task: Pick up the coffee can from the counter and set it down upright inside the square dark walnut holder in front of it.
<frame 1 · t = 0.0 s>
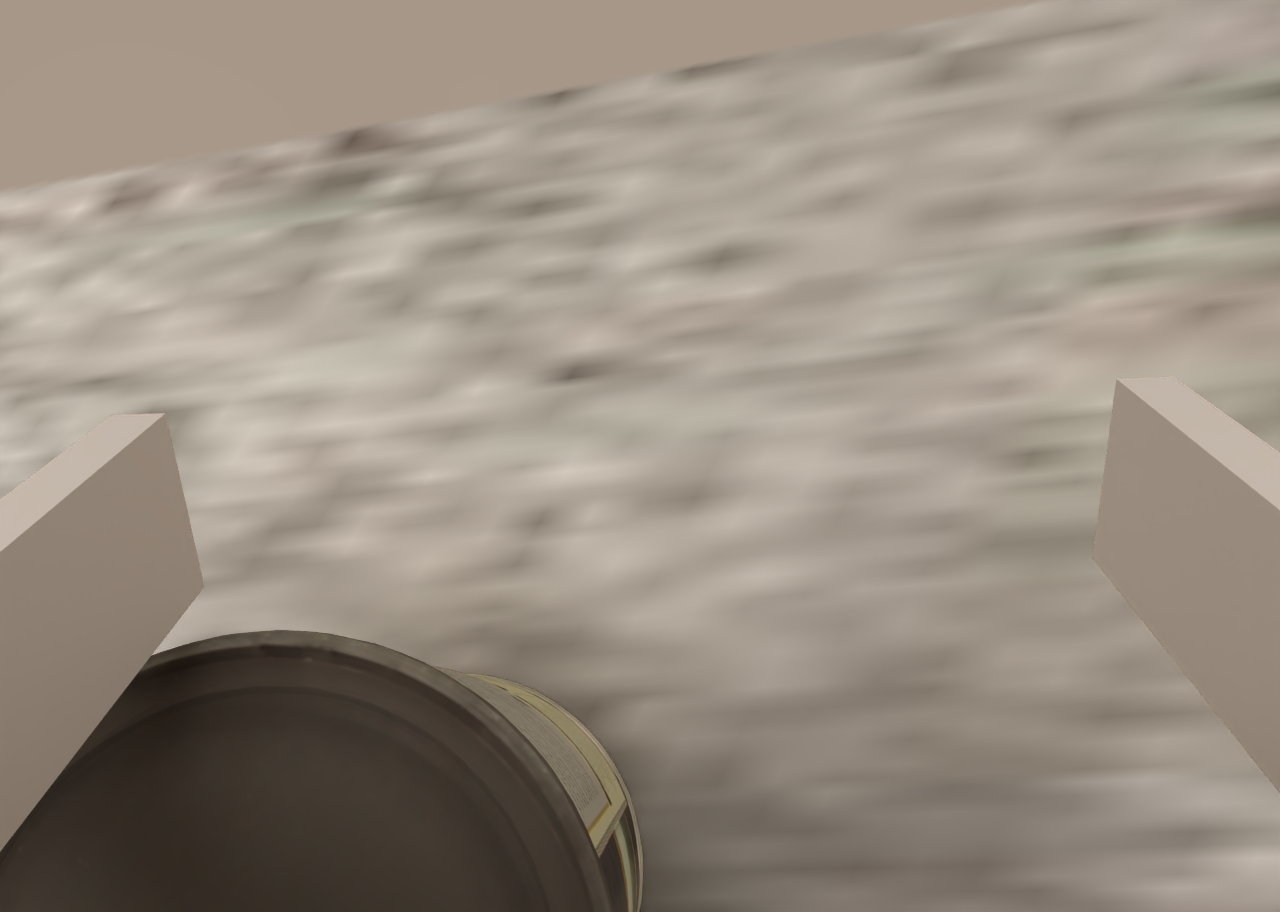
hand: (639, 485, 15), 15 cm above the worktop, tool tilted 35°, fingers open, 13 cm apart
coffee can: (454, 865, 29), on the worktop
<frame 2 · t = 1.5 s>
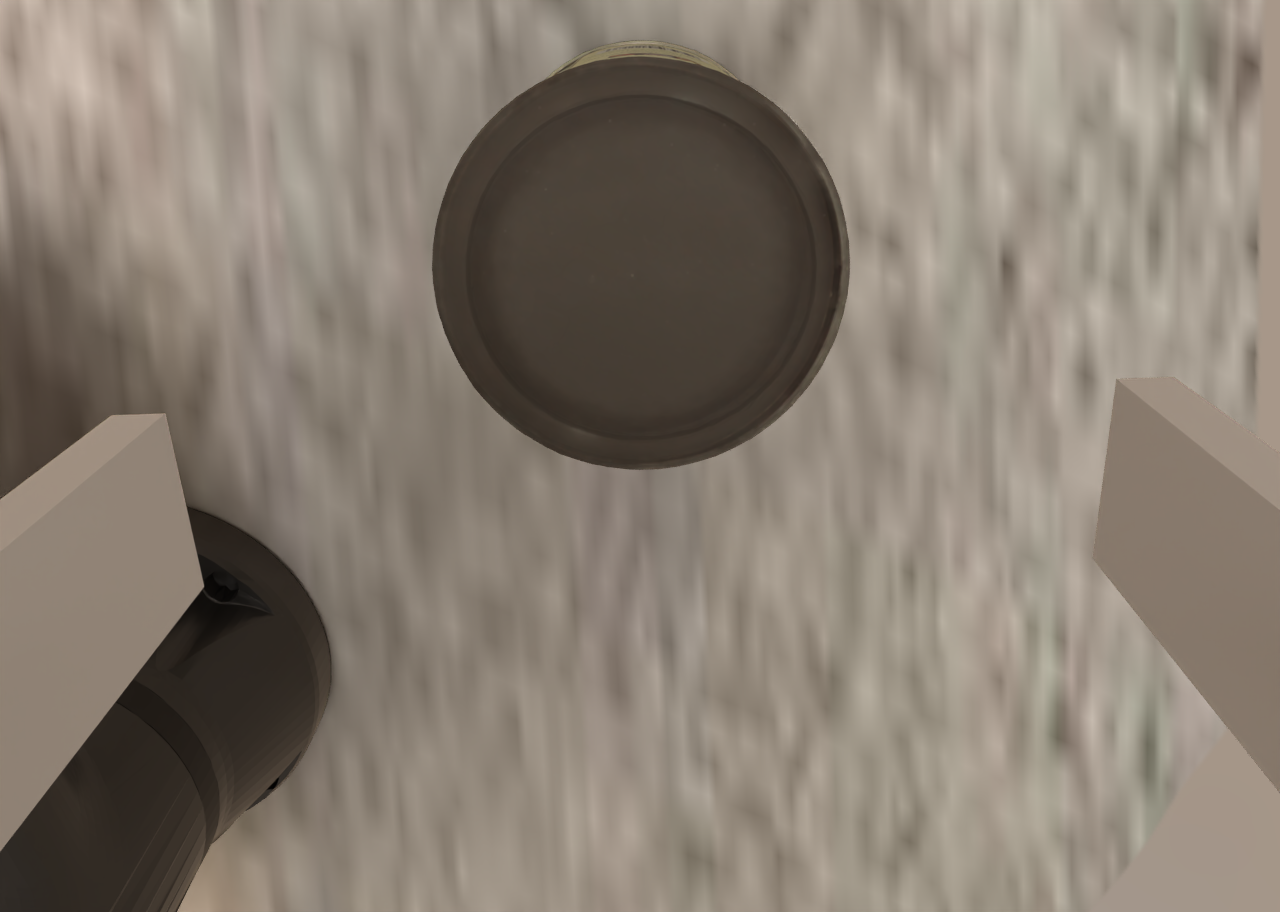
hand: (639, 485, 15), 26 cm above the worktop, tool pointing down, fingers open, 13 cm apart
coffee can: (643, 189, 40), on the worktop
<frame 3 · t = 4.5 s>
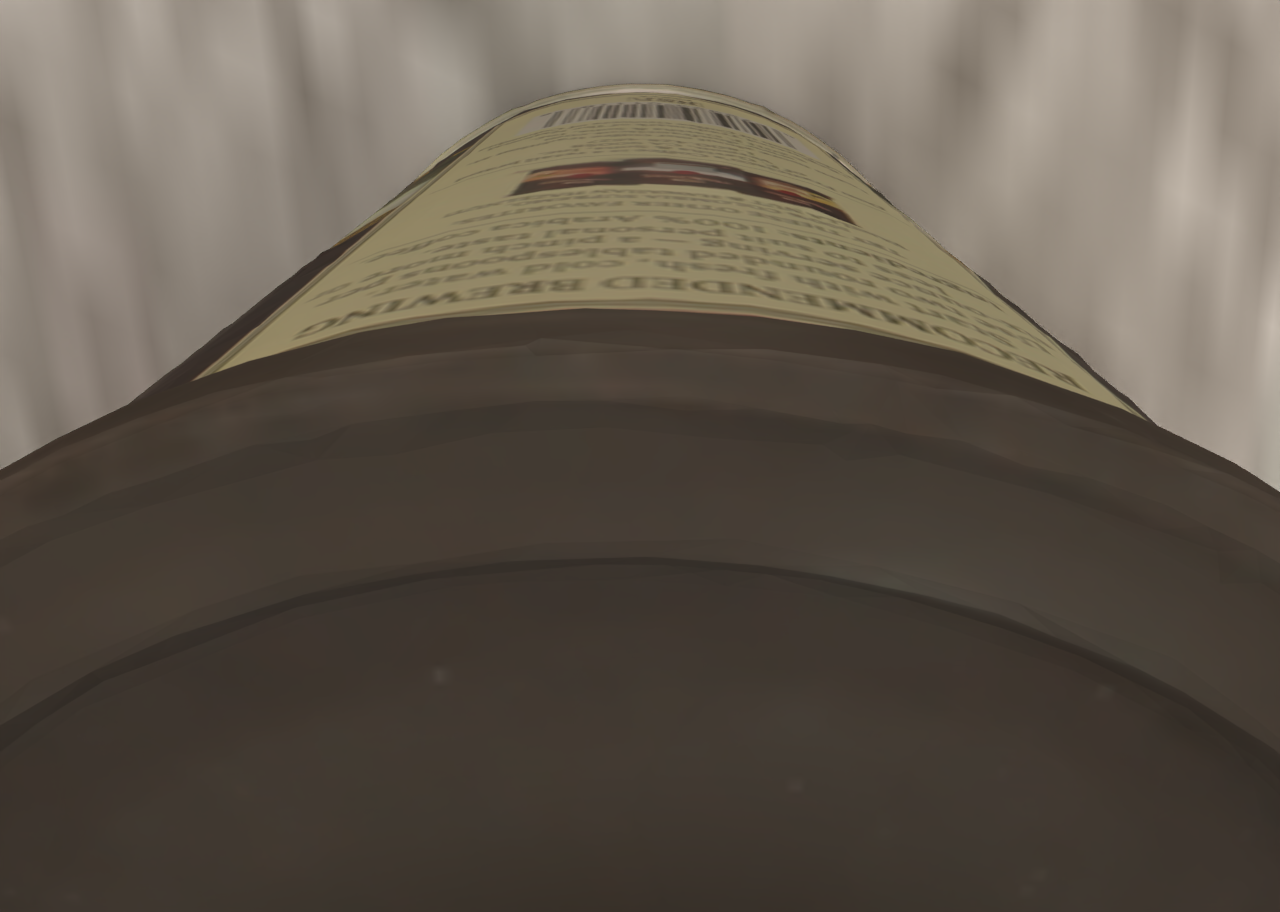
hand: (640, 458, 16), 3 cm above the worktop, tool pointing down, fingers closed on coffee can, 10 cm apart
coffee can: (644, 392, 19), on the worktop, touching gripper
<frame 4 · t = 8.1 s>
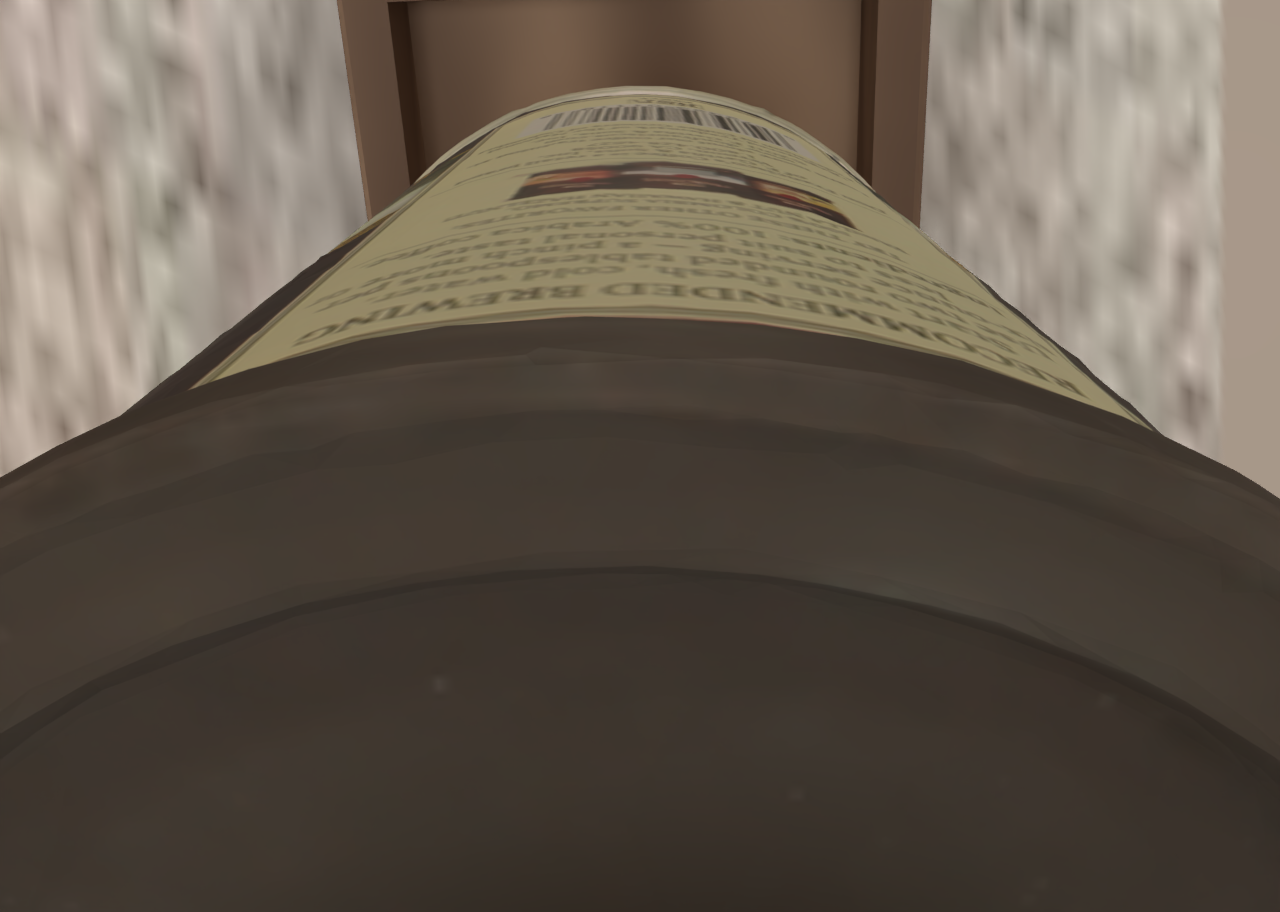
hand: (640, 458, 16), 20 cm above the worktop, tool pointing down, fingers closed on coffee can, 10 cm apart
can holder: (643, 214, 34), on the worktop
coffee can: (644, 394, 19), point 17 cm above the worktop, touching gripper
when the fingers open (6 cm above the worktop, at t = 11.5 s): coffee can drops 2 cm, resting on can holder.
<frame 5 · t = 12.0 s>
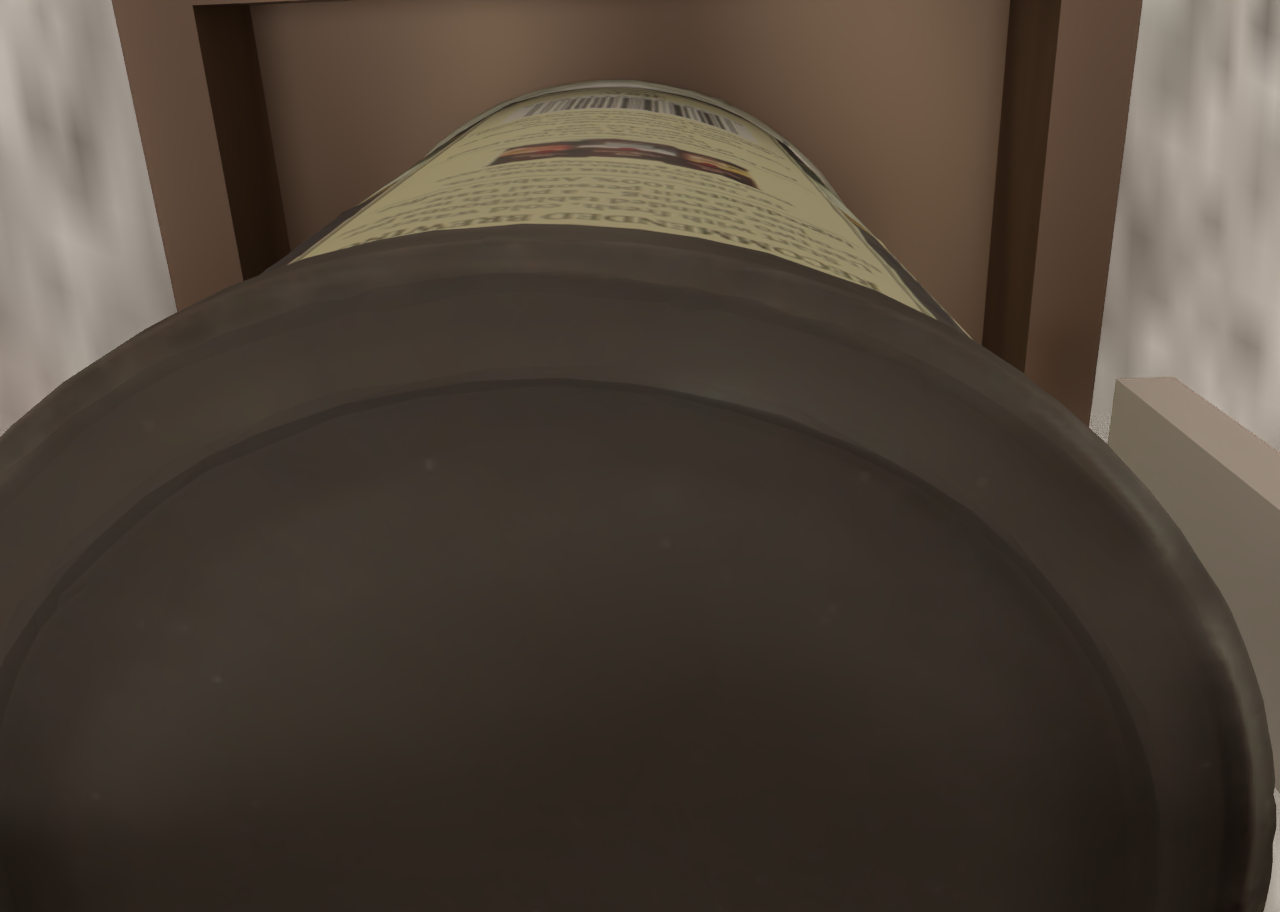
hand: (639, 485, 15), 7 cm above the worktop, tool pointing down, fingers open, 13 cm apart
can holder: (643, 339, 22), on the worktop
coffee can: (620, 355, 21), point 1 cm above the worktop, touching can holder
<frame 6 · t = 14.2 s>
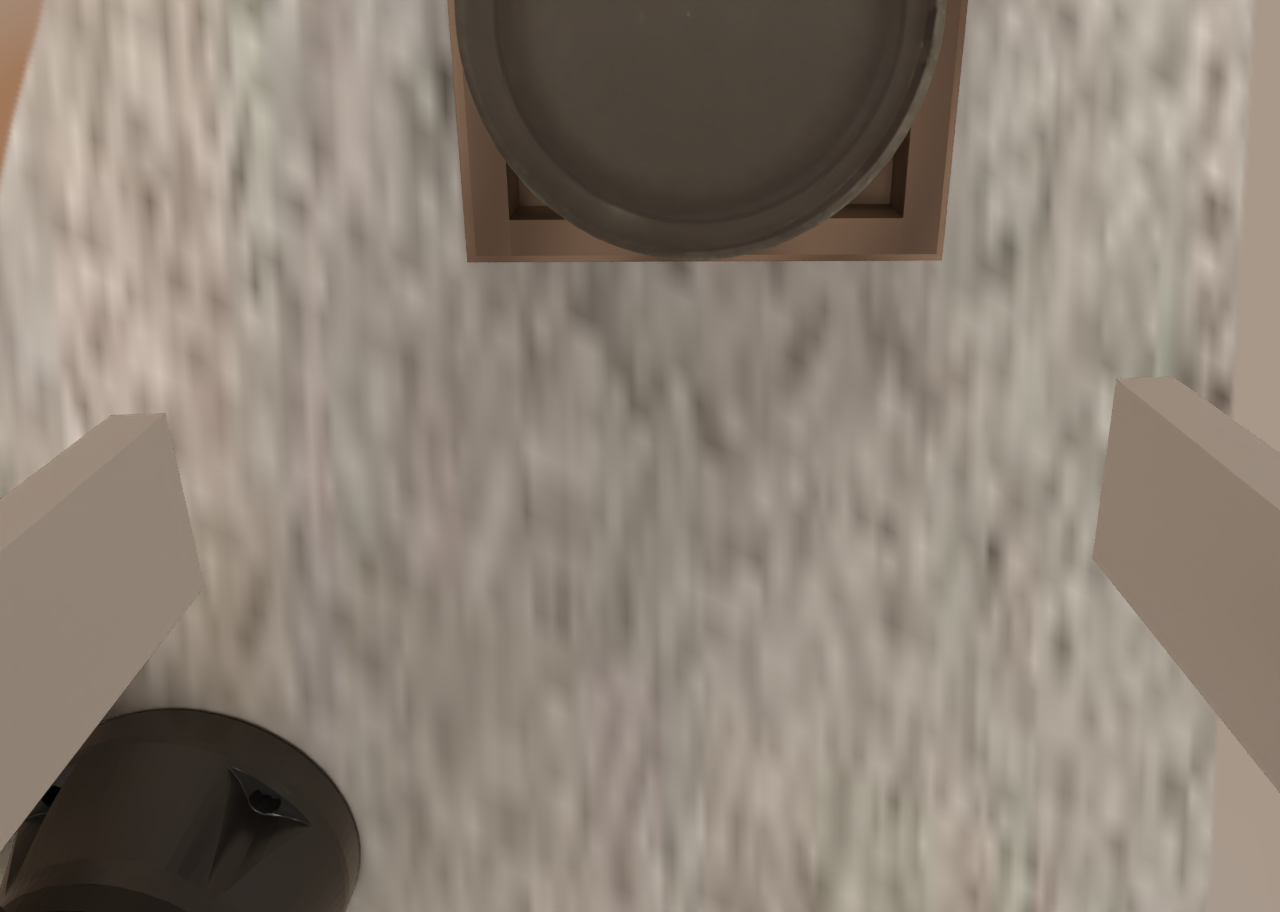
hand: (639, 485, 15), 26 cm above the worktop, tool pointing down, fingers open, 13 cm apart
can holder: (705, 4, 36), on the worktop
coffee can: (692, 6, 36), point 1 cm above the worktop, touching can holder
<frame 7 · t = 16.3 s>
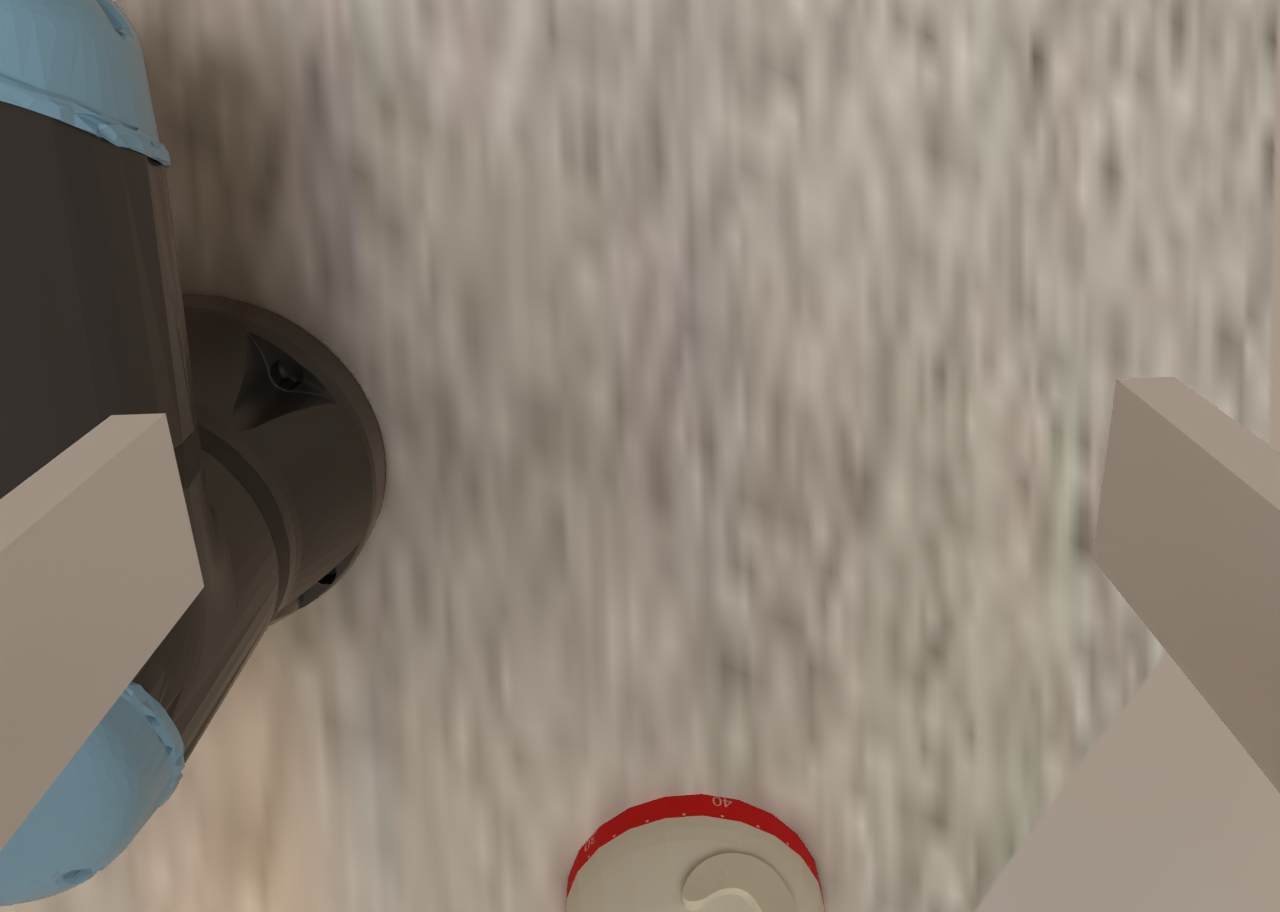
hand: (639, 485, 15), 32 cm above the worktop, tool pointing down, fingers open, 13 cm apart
kitchen timer: (693, 892, 60), on the worktop
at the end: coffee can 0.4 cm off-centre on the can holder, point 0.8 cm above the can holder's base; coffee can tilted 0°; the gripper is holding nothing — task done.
